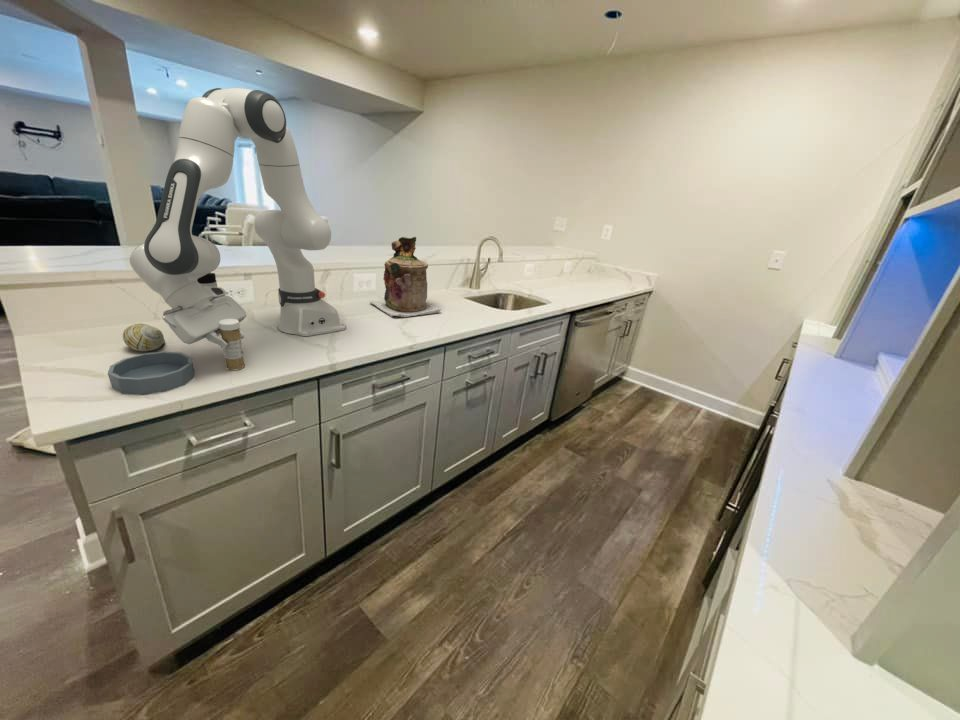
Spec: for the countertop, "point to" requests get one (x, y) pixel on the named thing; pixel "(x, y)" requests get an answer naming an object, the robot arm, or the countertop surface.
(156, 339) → the seashell
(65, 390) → the countertop surface
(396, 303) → the cookie jar
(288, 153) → the robot arm
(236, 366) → the sprinkles bottle
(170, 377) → the slate bowl
